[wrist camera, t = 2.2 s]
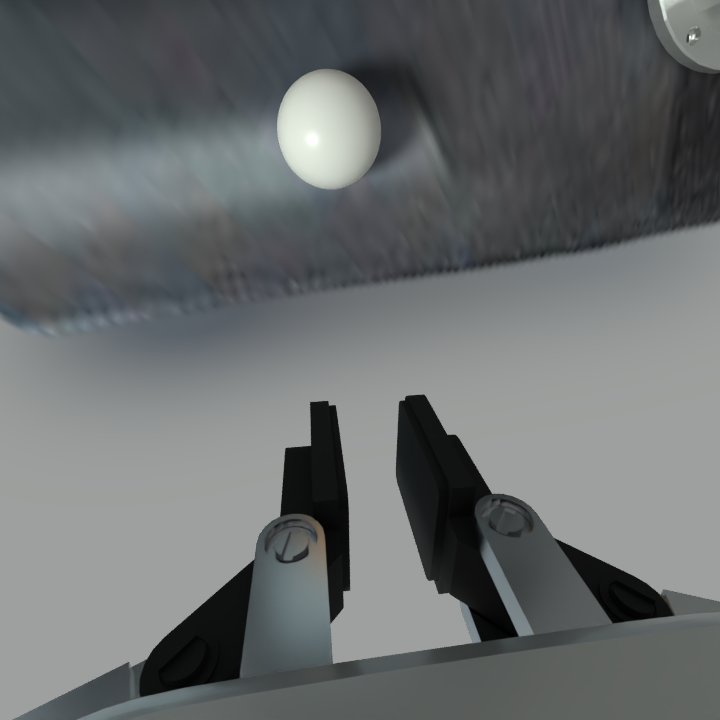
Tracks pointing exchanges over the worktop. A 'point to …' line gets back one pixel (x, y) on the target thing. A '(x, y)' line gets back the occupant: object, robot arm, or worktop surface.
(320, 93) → the cue ball
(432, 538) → the robot arm
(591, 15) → the worktop surface
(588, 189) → the worktop surface
